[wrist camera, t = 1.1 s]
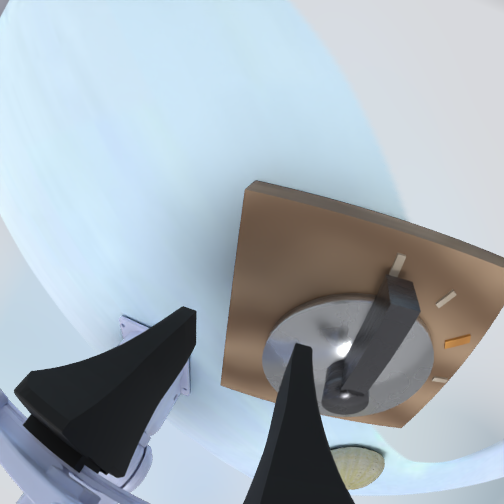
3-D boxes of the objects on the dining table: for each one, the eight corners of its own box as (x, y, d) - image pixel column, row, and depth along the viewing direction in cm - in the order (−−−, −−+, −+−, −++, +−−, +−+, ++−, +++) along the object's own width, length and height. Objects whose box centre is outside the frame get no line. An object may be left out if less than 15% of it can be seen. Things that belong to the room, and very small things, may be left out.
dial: (384, 416, 20) (383, 449, 17) (254, 386, 23) (241, 419, 20) (477, 292, 13) (496, 331, 10) (292, 238, 15) (278, 272, 12)
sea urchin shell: (358, 447, 25) (376, 500, 21) (382, 425, 30) (397, 471, 26) (296, 460, 29) (313, 507, 25) (327, 440, 35) (342, 482, 31)
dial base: (401, 411, 23) (401, 429, 21) (227, 369, 26) (219, 386, 24) (508, 259, 13) (522, 276, 12) (255, 180, 17) (243, 190, 15)
